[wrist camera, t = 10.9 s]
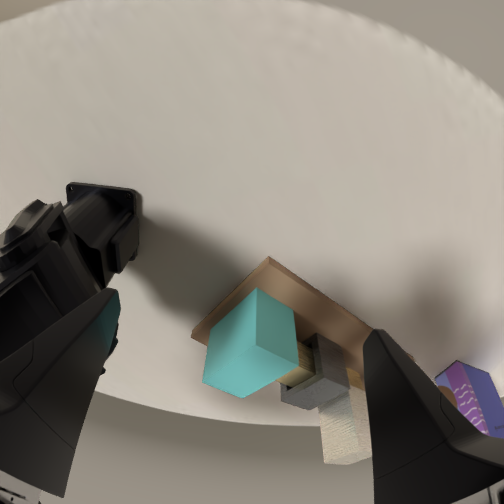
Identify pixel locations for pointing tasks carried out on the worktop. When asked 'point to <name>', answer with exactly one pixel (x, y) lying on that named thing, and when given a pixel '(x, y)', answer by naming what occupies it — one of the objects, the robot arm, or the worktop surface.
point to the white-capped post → (337, 414)
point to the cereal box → (473, 397)
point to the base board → (297, 312)
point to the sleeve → (320, 376)
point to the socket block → (251, 346)
